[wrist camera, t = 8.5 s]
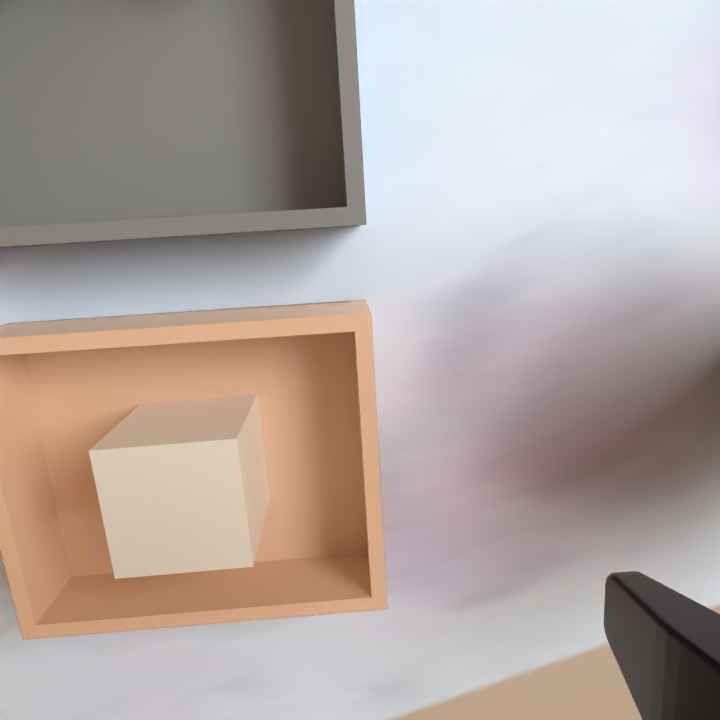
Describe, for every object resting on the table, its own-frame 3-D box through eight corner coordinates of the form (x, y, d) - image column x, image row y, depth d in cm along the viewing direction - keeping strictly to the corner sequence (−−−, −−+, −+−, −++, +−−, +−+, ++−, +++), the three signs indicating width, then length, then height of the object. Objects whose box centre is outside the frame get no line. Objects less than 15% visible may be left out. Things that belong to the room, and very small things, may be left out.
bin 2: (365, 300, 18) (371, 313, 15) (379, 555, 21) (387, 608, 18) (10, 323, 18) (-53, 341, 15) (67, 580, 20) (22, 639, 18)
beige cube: (257, 394, 18) (236, 439, 15) (269, 499, 19) (253, 566, 16) (140, 403, 18) (88, 450, 14) (158, 508, 19) (114, 579, 15)
